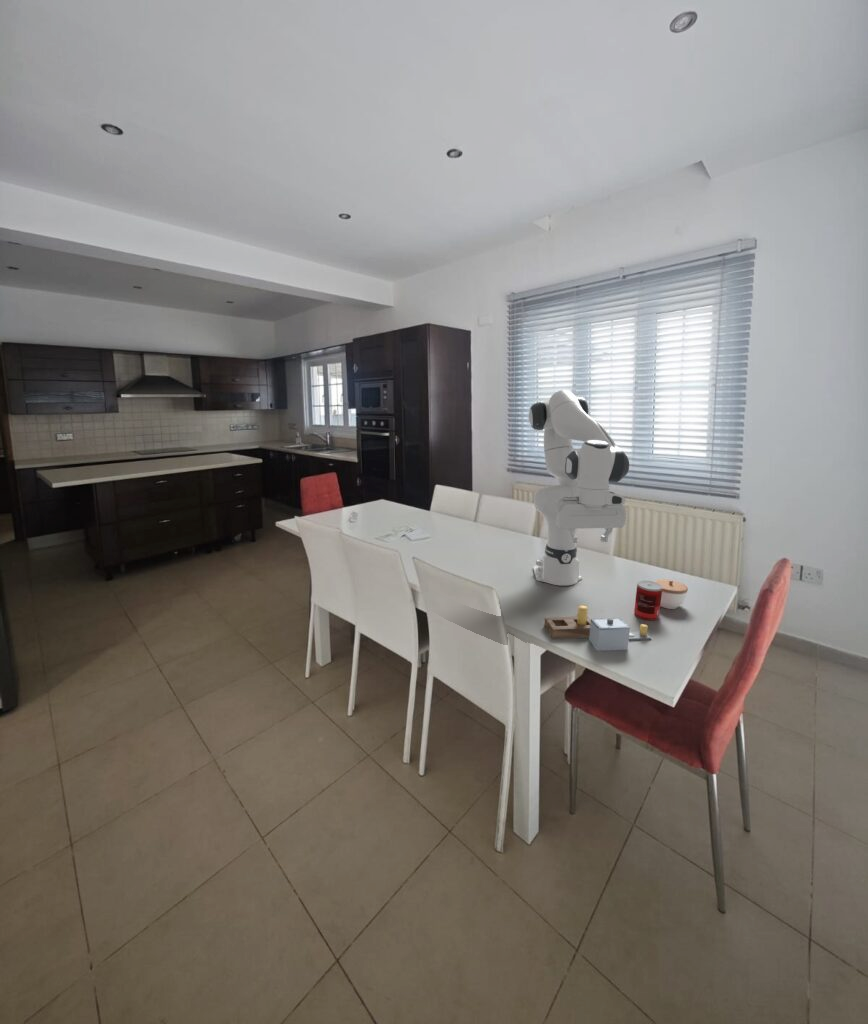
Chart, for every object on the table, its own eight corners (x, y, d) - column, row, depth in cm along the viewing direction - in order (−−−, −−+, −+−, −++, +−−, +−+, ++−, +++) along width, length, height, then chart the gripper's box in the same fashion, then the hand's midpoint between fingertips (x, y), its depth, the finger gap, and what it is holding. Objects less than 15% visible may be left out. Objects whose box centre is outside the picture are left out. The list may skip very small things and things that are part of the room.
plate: (622, 634, 141) (623, 623, 141) (644, 633, 142) (645, 622, 141) (628, 640, 138) (630, 629, 137) (651, 639, 138) (652, 628, 137)
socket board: (544, 626, 146) (544, 617, 146) (586, 624, 148) (587, 616, 147) (552, 638, 139) (553, 629, 138) (597, 636, 140) (598, 627, 139)
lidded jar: (666, 613, 156) (669, 587, 154) (644, 600, 166) (647, 576, 164) (692, 610, 159) (695, 584, 156) (669, 597, 169) (672, 573, 166)
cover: (588, 640, 138) (591, 615, 136) (617, 639, 138) (620, 614, 137) (597, 650, 132) (600, 625, 130) (627, 649, 133) (630, 624, 131)
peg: (574, 629, 145) (576, 605, 143) (583, 628, 145) (585, 605, 143) (578, 633, 142) (580, 609, 140) (587, 633, 142) (589, 609, 140)
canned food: (651, 610, 158) (655, 580, 156) (663, 620, 151) (667, 589, 148) (629, 610, 158) (633, 580, 156) (640, 620, 150) (644, 589, 148)
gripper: (561, 499, 130) (558, 545, 133) (630, 498, 131) (626, 544, 135) (554, 495, 136) (551, 539, 139) (620, 494, 138) (615, 538, 141)
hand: (588, 542), depth 137 cm, fingers open, 8 cm apart
